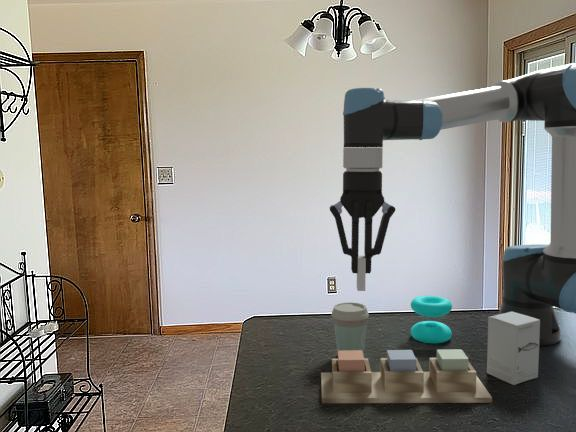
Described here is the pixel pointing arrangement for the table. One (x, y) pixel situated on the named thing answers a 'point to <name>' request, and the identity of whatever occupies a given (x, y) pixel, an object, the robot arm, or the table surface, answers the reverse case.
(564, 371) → the table surface
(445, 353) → the sage button
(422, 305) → the donuts
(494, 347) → the supplement box
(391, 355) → the slate button
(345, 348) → the coffee cup
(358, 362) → the terracotta button
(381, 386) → the button panel
